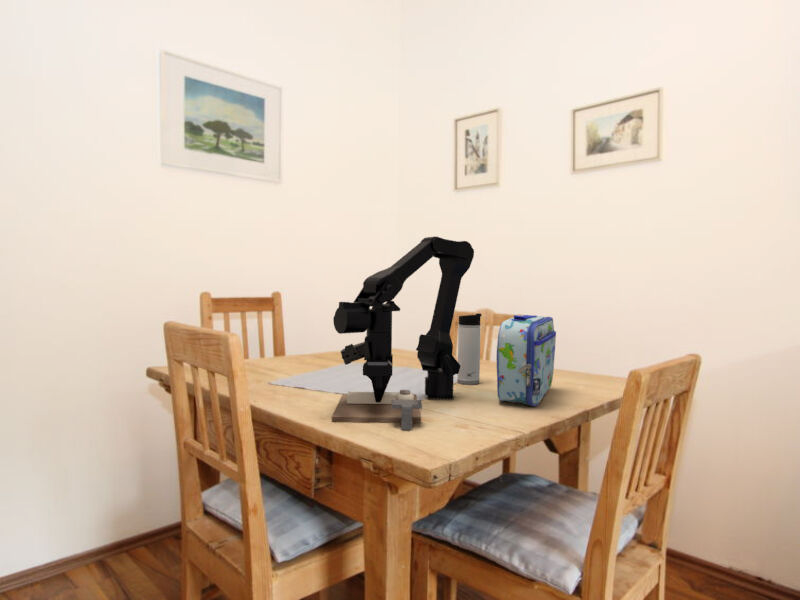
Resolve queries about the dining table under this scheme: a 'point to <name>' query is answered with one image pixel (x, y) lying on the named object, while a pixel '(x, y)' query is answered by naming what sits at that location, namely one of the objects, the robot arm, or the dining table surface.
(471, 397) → the dining table surface
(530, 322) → the lunch box
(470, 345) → the travel mug
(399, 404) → the metal keeper
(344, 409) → the walnut board
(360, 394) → the cream link
